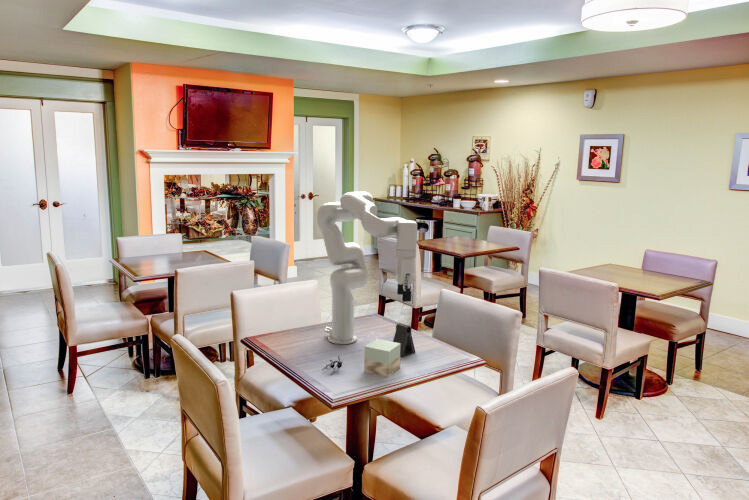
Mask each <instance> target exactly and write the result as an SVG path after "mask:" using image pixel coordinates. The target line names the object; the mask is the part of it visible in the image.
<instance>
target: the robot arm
mask: <svg viewBox="0 0 749 500" xmlns="http://www.w3.org/2000/svg"><path fill="white" fill-rule="evenodd" d="M377 214H378V207H377V204H375V202H374V198H373V195H371V194H370V193H369V192H367V191H349V192H346V193H344V194H343V195H342V196H341V197H340V200H339V201H335V202H334V201H332V202H330V201H329V202H326V203H323V204H322V205H321V206H319V207H318V210H317V212H316V220H317V221H316V223H317V225H318V228H319V230H320V232H321V235H322V238H323V242H324V246H325V250H326V254H327V258H328V261H329V264H330V265H332V266H333V267H341V266H346V265H348V266H349V267H343V268H338V269H336V270H334V271H332V273H331V275H330V277H329V282H330V288H331V299H332V300H331V327H330V326H325V328H324V333H328V334H329V335H328V336H327V341H329V342H330V343H333V344H336V345H349V344H353V343H356V341H358V336H357V335H356V334H354V333H355V332H354V331H355V330H354V326H355V325H354V324H355V298H354V296H353V293H352V292H351V290H356V289H361V288H363V287H366V286H367V284H368V283H369V277H370V276H369V272H368V267H367V264H366V259H365V255H364V251H363V249H362V247H361V246H360V245H359V244H358V243H356V242H349V241H348V242H345V237H344V235H343V232H342V230H341V228H340V227H339V226H338V225H337V224H336V223H340V222H341V223H342V222H351V221H354V220H356V219H357V220H359V221H360V223H361V227H362V228H363V230H364V231H365V232H366V233H368V234H370V235H371V236H373V237H375V238H377V239H381V240H382V239H389V238H396V244H395V245H396V247H395V258H396V266H395V267H396V269H395V281H396V282H397V292H396V293H397V295H399V296H400V295H402V302H403V303H404V302H407V303H408V302H412V284H413V281H414V259H416V258H417V246H418V245H417V241H418V222H416V220H410V219H405V218H403V217H384V218H379V217H378V216H377Z"/></svg>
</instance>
